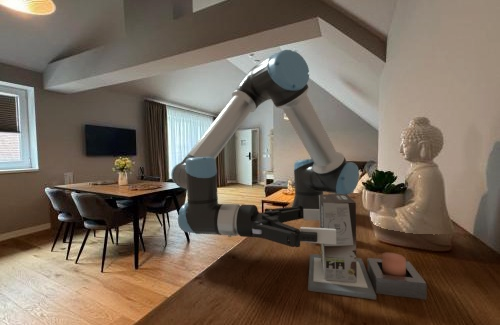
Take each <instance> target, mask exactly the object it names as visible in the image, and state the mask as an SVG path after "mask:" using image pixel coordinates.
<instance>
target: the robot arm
mask: <svg viewBox="0 0 500 325" xmlns="http://www.w3.org/2000/svg"><path fill="white" fill-rule="evenodd" d="M308 65H309V64H307V62H306V59H305V58H304V57H303V56H302V55H301V54H300V53H299V52H297V51H295V50H292V49H284V50H280V51H278V52H275V53H274V54H272V55H271V56H269V57H267V58H266V59H265V60H263V61H262V62H260V63H259V64H257V65H255V66H254V67H252V68H251V69H250V70H249V71H248V72H247V73H246V74H245V76H244V77H243V79H241V81H240V83H239V84H238V85H237V87H236V88H235V89H234V90H233V92H232V94H231V99H230V100H229V102H227V104H226V106H225V107H224V108H223V109H222V110H221V112H220V113H219V114H218V116H217V117H216V118H215V119H214V121H213V122H212V123H211V125H210V126H209V127H208V128H207V130H206V131H205V132H204V133H203V134H202V135H201V137H200V138H199V139H198V141H197V142H196V144H195V145H194V146H193V147H192V148H191V150H190V151H189V152H188V153H187V155H186V156H185V157H184V158H183V159H182V161H181V162H179V163H177V164H176V165H174V166H173V168H172V169H171V175H170V176H171V179H172V181H173V183H174V184H175V185H176V186H177V187H180V188H181V189H185V190H186V194H187V201H186V202H185V203H184V204H183V205H182V206H181V207H180V209H179V211H178V216H177V224H178V227H179V228H180V230H181V231H183V232H184V233H189V234H190V233H191V234H196V235H215V236H227V237H228V238H231V237H232V236H233V237H238V236H240V237H242V238H259V239H264V240H267V241H270V242H274V243H277V244H281V245H284V246H288V247H290V248H300V247H301V243H310V244H311V243H312V244H321V243H323V244H336V229H329V228H320V227H309V226H308V227H307V226H306V227H305V226H301V227H299V228H300V229H299V228H296V227H295V226H292V225H289V224H285V223H286V222H293V221H296V220H302V219H303V221H315V222H320V212H319V195H324V193H328V194H347V195H348V196H349V195H350V194H352V193H354V191H355V190H356V188H357V187H358V184H359V179H360V170H359V167H358V165H357V164H356V163H355V162H352V161H347V160H346V157H345V156H344V154H343V153H342V152H339V151H337V150H336V148H335V146H334V144H333V142H332V140H331V139H330V137H329V134H328V133H327V130H326V128H325V126H324V125H323V123H322V121H321V119H320V117H319V116H318V114H317V111H316V110H315V108H314V105H313V103H312V102H311V100H310V98H309V97H308V90H309V85H308V82H309V80H310V79H309V78H310V74H309V72H310V70H309V69H310V68H309V66H308ZM268 100H271V101H272V103H273V105H274V106H275V107H276V109H277V108H278V109H282V111H283V112H284V114H285V116H286V117H287V119H288V121H289V123H290V125H291V126H292V128H293V129H294V131H295V132H296V134H297V137H298V139H299V140H300V141H301V143H302V145H303V147H304V148H305V150H306V152H307V153H308V156H310V158H307V159H300V160H297V161H295V162H294V165H293V167H294V168H293V176H294V178H293V179H294V198H293V201H292V204H291V206H288V207H278V208H265V209H264V212H259V209H258V206H257V205H255V204H241V205H240V204H238V203H219V200H218V179H217V178H218V177H217V176H218V169H217V163H216V159H217V157H218V156H219V155H220V154H221V152H222V150H223V149H224V148H225V147H226V145H227V144H228V142H229V141H230V140H231V139H232V138H233V136H234V134H235V133H236V131H238V129H239V127H240V126H241V125H242V124H243V122H244V121H245V120H246V119H247V117H248V115H249V114H251V113H253V112H255V111H256V110H257V108H259V106H260V105H261V104H263V103H265V102H266V101H268Z"/></svg>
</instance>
